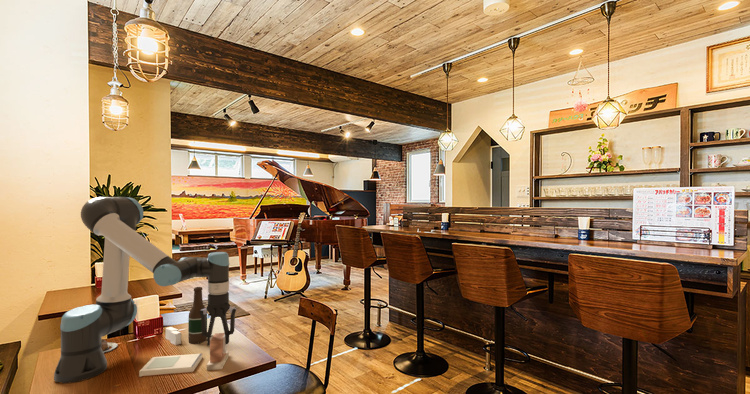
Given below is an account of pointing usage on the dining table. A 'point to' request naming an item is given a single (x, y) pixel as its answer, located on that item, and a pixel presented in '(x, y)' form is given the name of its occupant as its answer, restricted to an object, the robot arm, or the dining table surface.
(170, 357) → the white flat block
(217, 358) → the stub
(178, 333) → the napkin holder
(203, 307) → the beer bottle
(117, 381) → the dining table surface
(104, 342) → the pastry
